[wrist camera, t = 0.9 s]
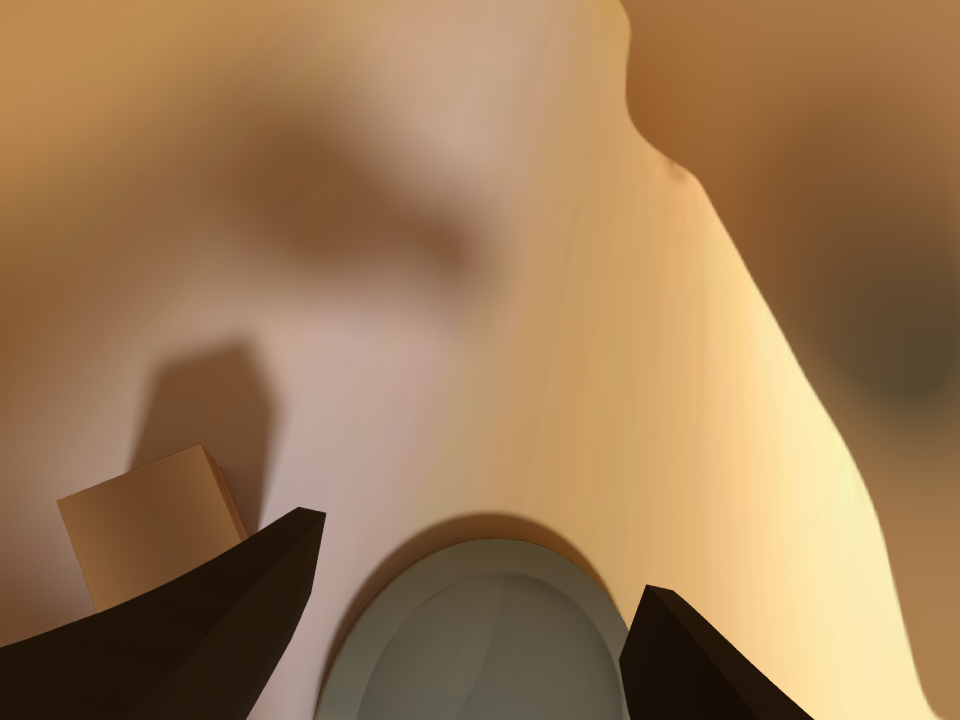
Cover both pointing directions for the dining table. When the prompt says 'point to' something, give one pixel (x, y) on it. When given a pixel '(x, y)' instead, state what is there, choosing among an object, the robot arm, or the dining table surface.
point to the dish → (482, 642)
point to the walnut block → (151, 525)
